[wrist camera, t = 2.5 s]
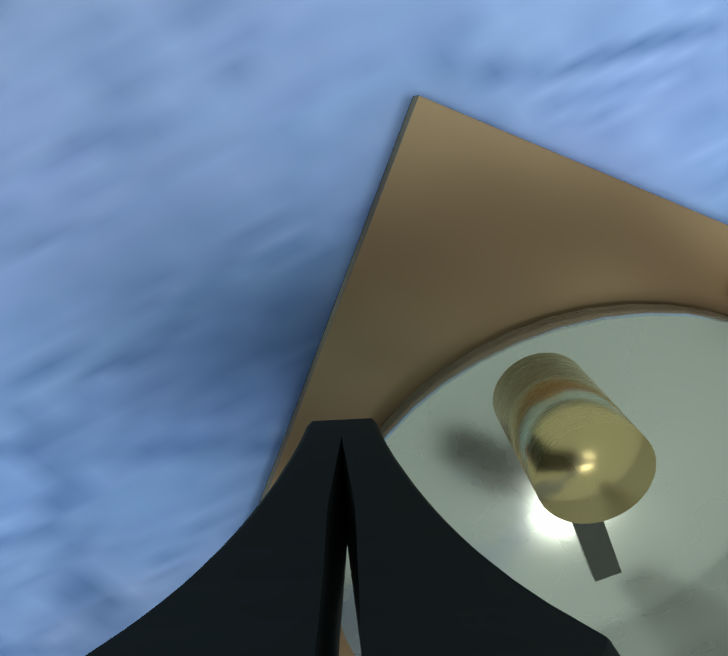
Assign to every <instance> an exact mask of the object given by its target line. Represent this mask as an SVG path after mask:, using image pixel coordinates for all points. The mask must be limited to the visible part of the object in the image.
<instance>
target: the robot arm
mask: <svg viewBox="0 0 728 656" xmlns="http://www.w3.org/2000/svg"><path fill="white" fill-rule="evenodd" d="M347 547H348V554H349V562H350V570H351V578H352V586H353V593H354V601H355V609H356V616H357V624H358V632H359V639H360V647H361V656H620V654H619V653H618V651H617V650H616V648H615V647H614V645H613V644H612V642H611V641H610V639H609V638H608V637H606V636H604V635H603V634H601V633H599V632H598V631H596V630H594V629H592V628H591V627H589V626H587V625H585V624H584V623H582V622H580V621H578V620H577V619H575V618H573V617H572V616H570V615H568V614H566V613H565V612H563V611H561V610H559V609H558V608H556V607H554V606H552V605H551V604H549V603H548V602H546V601H544V600H543V599H541V598H540V597H538V596H537V595H536V594H534V593H533V592H531V591H530V590H528V589H527V588H525V587H524V586H522V585H521V584H519V583H518V582H516V581H515V580H513V579H512V578H511V577H509V576H508V575H507V574H506V573H504V572H503V571H502V570H501V569H499V568H498V567H497V566H496V565H494V564H493V563H492V562H490V561H489V560H488V559H487V558H485V557H484V556H483V555H482V554H480V553H479V552H478V551H477V550H476V549H475V548H474V547H472V546H471V545H470V544H469V543H468V542H467V541H466V540H465V539H464V538H463V537H461V536H460V535H459V534H458V533H457V532H456V531H455V530H454V529H453V528H452V527H451V526H450V525H449V524H448V523H447V522H446V521H445V520H444V519H443V518H442V516H441V515H440V514H439V513H438V512H437V511H436V510H435V509H434V508H433V507H432V505H431V504H430V503H429V502H428V501H427V500H426V498H425V497H424V496H423V495H422V494H421V492H420V491H419V490H418V489H417V487H416V486H415V485H414V484H413V482H412V481H411V480H410V478H409V477H408V475H407V474H406V473H405V471H404V470H403V468H402V467H401V466H400V464H399V463H398V461H397V460H396V458H395V457H394V455H393V454H392V452H391V450H390V449H389V447H388V445H387V444H386V442H385V440H384V438H383V436H382V434H381V432H380V430H379V428H378V425H377V423H376V422H375V421H374V420H373V419H372V418H363V419H343V420H322V421H312V422H311V423H310V424H309V425H308V426H307V428H306V430H305V432H304V434H303V436H302V439H301V440H300V442H299V444H298V446H297V448H296V450H295V451H294V453H293V455H292V457H291V458H290V460H289V462H288V463H287V465H286V466H285V468H284V469H283V471H282V472H281V474H280V476H279V477H278V479H277V480H276V482H275V483H274V485H273V486H272V487H271V489H270V490H269V491H268V493H267V494H266V495H265V497H264V498H263V499H262V501H261V502H260V503H259V505H258V506H257V507H256V509H255V510H254V511H253V513H252V514H251V515H250V516H249V517H248V519H247V520H246V521H245V522H244V523H243V525H242V526H241V527H240V528H239V529H238V530H237V532H236V533H235V534H234V535H233V536H232V537H231V538H230V539H229V540H228V541H227V542H226V543H225V545H224V546H223V547H222V548H221V549H220V550H219V551H218V552H217V553H216V554H215V555H214V556H213V557H212V558H211V559H209V560H208V561H207V562H206V563H205V564H204V565H203V566H202V567H201V568H200V569H199V570H198V571H197V572H196V573H195V574H194V575H193V576H192V577H191V578H189V579H188V580H187V581H186V582H185V583H184V584H183V585H182V586H180V587H179V588H178V589H177V590H176V591H174V592H173V593H172V594H171V595H169V596H168V597H167V598H166V599H164V600H163V601H162V602H161V603H159V604H158V605H157V606H156V607H154V608H153V609H152V610H150V611H149V612H148V613H146V614H145V615H144V616H142V617H141V618H140V619H138V620H137V621H136V622H134V623H133V624H132V625H130V626H129V627H127V628H126V629H125V630H123V631H122V632H120V633H119V634H117V635H116V636H114V637H113V638H111V639H110V640H108V641H107V642H105V643H104V644H102V645H101V646H99V647H98V648H96V649H95V650H93V651H92V652H90V653H89V654H87V655H86V656H339V645H340V633H341V620H342V607H343V594H344V581H345V568H346V555H347Z"/></svg>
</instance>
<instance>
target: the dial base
mask: <svg viewBox="0 0 728 656" xmlns="http://www.w3.org/2000/svg"><path fill="white" fill-rule="evenodd" d="M621 304H671V305H678V306H684V307H691V308H697V309H704V310H709V311H712V312H716V313H719V314H722V315H725V316H728V225H726V224H723V223H721V222H719V221H716V220H714V219H711V218H709V217H707V216H704V215H702V214H700V213H697V212H695V211H692V210H690V209H688V208H685V207H683V206H681V205H678V204H676V203H673V202H671V201H669V200H666V199H664V198H661V197H659V196H657V195H654V194H652V193H650V192H647V191H645V190H642V189H640V188H638V187H635V186H633V185H631V184H628V183H626V182H623V181H621V180H619V179H616V178H614V177H611V176H609V175H607V174H604V173H602V172H600V171H597V170H595V169H592V168H590V167H588V166H585V165H583V164H581V163H578V162H576V161H573V160H571V159H569V158H566V157H564V156H562V155H559V154H557V153H554V152H552V151H550V150H547V149H545V148H542V147H540V146H538V145H535V144H533V143H531V142H528V141H526V140H523V139H521V138H519V137H516V136H514V135H512V134H509V133H507V132H504V131H502V130H500V129H497V128H495V127H493V126H490V125H488V124H485V123H483V122H481V121H478V120H476V119H473V118H471V117H469V116H466V115H464V114H462V113H459V112H457V111H454V110H452V109H450V108H447V107H445V106H443V105H440V104H438V103H435V102H433V101H431V100H428V99H426V98H423V97H421V96H413V98H412V101H411V104H410V106H409V109H408V112H407V114H406V117H405V120H404V122H403V125H402V127H401V130H400V133H399V135H398V138H397V141H396V143H395V146H394V149H393V151H392V154H391V157H390V159H389V162H388V164H387V167H386V170H385V172H384V175H383V178H382V180H381V183H380V186H379V188H378V191H377V194H376V196H375V199H374V201H373V204H372V207H371V209H370V212H369V215H368V217H367V220H366V223H365V225H364V228H363V231H362V233H361V236H360V238H359V241H358V244H357V246H356V249H355V252H354V254H353V257H352V260H351V262H350V265H349V267H348V270H347V273H346V275H345V278H344V281H343V283H342V286H341V289H340V291H339V294H338V297H337V299H336V302H335V304H334V307H333V310H332V312H331V315H330V318H329V320H328V323H327V326H326V328H325V331H324V334H323V336H322V339H321V341H320V344H319V347H318V349H317V352H316V355H315V357H314V360H313V363H312V365H311V368H310V371H309V373H308V376H307V378H306V381H305V384H304V386H303V389H302V392H301V394H300V397H299V400H298V402H297V405H296V408H295V410H294V413H293V415H292V418H291V421H290V423H289V426H288V429H287V431H286V434H285V437H284V439H283V442H282V445H281V447H280V450H279V452H278V455H277V458H276V460H275V463H274V466H273V468H272V471H271V474H270V476H269V479H268V481H267V484H266V487H265V489H264V492H263V495H262V497H261V500H260V502H261V501H262V499H263V498H264V497H265V495H266V494H267V493H268V491H269V490H270V489H271V487H272V486H273V485H274V483H275V482H276V480H277V479H278V477H279V476H280V474H281V472H282V471H283V469H284V468H285V466H286V465H287V463H288V462H289V460H290V458H291V457H292V455H293V453H294V451H295V450H296V448H297V446H298V444H299V442H300V440H301V439H302V436H303V434H304V432H305V430H306V428H307V426H308V425H309V424H310V423H311V422H312V421H322V420H343V419H363V418H372V419H373V420H374V421H375V422H376V423H377V425H378V428H380V427H381V426H382V424H383V423H384V421H385V420H386V419H387V418H388V417H389V416H390V415H391V414H392V413H393V412H394V411H395V410H396V409H397V408H398V407H399V406H400V405H401V404H402V402H403V401H404V400H405V399H406V398H407V397H408V396H409V395H410V394H411V393H413V392H414V391H415V390H416V389H417V388H419V387H420V386H421V385H422V384H424V383H425V382H426V381H427V380H428V379H430V378H431V377H432V376H433V375H434V374H436V373H437V372H438V371H439V370H441V369H442V368H444V367H446V366H447V365H449V364H450V363H452V362H453V361H455V360H457V359H458V358H460V357H461V356H463V355H464V354H466V353H467V352H469V351H471V350H472V349H474V348H476V347H478V346H480V345H482V344H484V343H486V342H488V341H490V340H492V339H494V338H496V337H498V336H500V335H503V334H505V333H507V332H509V331H511V330H514V329H517V328H520V327H522V326H525V325H528V324H531V323H534V322H537V321H539V320H542V319H545V318H548V317H552V316H556V315H560V314H565V313H569V312H573V311H578V310H582V309H587V308H593V307H602V306H612V305H621ZM339 656H355V655H354V653H353V651H352V649H351V648H350V646H349V644H348V642H347V640H346V639H345V636H344V633H343V630H342V627H341V633H340V645H339Z"/></svg>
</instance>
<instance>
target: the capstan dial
mask: <svg viewBox="0 0 728 656" xmlns="http://www.w3.org/2000/svg"><path fill="white" fill-rule="evenodd" d="M379 430H380V432H381V434H382V436H383V438H384V440H385V442H386V444H387V445H388V447H389V449H390V450H391V452H392V454H393V455H394V457H395V458H396V460H397V461H398V463H399V464H400V466H401V467H402V468H403V470H404V471H405V473H406V474H407V475H408V477H409V478H410V480H411V481H412V482H413V484H414V485H415V486H416V487H417V489H418V490H419V491H420V492H421V494H422V495H423V496H424V497H425V498H426V500H427V501H428V502H429V503H430V504H431V505H432V507H433V508H434V509H435V510H436V511H437V512H438V513H439V514H440V515H441V516H442V518H443V519H444V520H445V521H446V522H447V523H448V524H449V525H450V526H451V527H452V528H453V529H454V530H455V531H456V532H457V533H458V534H459V535H460V536H461V537H463V538H464V539H465V540H466V541H467V542H468V543H469V544H470V545H471V546H472V547H474V548H475V549H476V550H477V551H478V552H479V553H480V554H482V555H483V556H484V557H485V558H487V559H488V560H489V561H490V562H492V563H493V564H494V565H496V566H497V567H498V568H499V569H501V570H502V571H503V572H504V573H506V574H507V575H508V576H509V577H511V578H512V579H513V580H515V581H516V582H518V583H519V584H521V585H522V586H524V587H525V588H527V589H528V590H530V591H531V592H533V593H534V594H536V595H537V596H538V597H540V598H541V599H543V600H544V601H546V602H548V603H549V604H551V605H552V606H554V607H556V608H558V609H559V610H561V611H563V612H565V613H566V614H568V615H570V616H572V617H573V618H575V619H577V620H578V621H580V622H582V623H584V624H585V625H587V626H589V627H591V628H592V629H594V630H596V631H598V632H599V633H601V634H603V635H604V636H606V637H608V638H609V639H610V641H611V642H612V644H613V645H614V647H615V648H616V650H617V651H618V653H619V654H620V656H728V316H725V315H722V314H719V313H716V312H712V311H709V310H704V309H697V308H691V307H684V306H678V305H671V304H621V305H612V306H602V307H593V308H587V309H582V310H578V311H573V312H569V313H565V314H560V315H556V316H552V317H548V318H545V319H542V320H539V321H537V322H534V323H531V324H528V325H525V326H522V327H520V328H517V329H514V330H511V331H509V332H507V333H505V334H503V335H500V336H498V337H496V338H494V339H492V340H490V341H488V342H486V343H484V344H482V345H480V346H478V347H476V348H474V349H472V350H471V351H469V352H467V353H466V354H464V355H463V356H461V357H460V358H458V359H457V360H455V361H453V362H452V363H450V364H449V365H447V366H446V367H444V368H442V369H441V370H439V371H438V372H437V373H436V374H434V375H433V376H432V377H431V378H430V379H428V380H427V381H426V382H425V383H424V384H422V385H421V386H420V387H419V388H417V389H416V390H415V391H414V392H413V393H411V394H410V395H409V396H408V397H407V398H406V399H405V400H404V401H403V402H402V404H401V405H400V406H399V407H398V408H397V409H396V410H395V411H394V412H393V413H392V414H391V415H390V416H389V417H388V418H387V419H386V420H385V421H384V423H383V424H382V426H381V427H380V428H379ZM341 627H342V630H343V633H344V636H345V639H346V640H347V642H348V644H349V646H350V648H351V649H352V651H353V653H354V655H355V656H361V647H360V639H359V632H358V624H357V616H356V609H355V601H354V593H353V586H352V578H351V570H350V562H349V554H348V547H347V555H346V568H345V581H344V594H343V607H342V620H341Z"/></svg>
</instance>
